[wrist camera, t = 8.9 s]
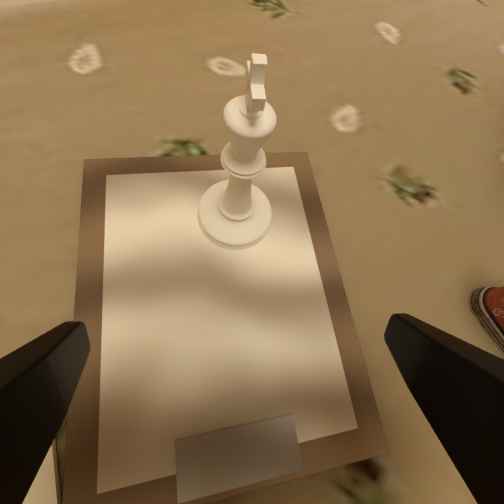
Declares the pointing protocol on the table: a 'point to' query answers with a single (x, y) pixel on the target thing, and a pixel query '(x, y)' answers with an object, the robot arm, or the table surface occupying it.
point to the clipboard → (209, 341)
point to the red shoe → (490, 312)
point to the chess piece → (241, 168)
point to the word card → (46, 481)
